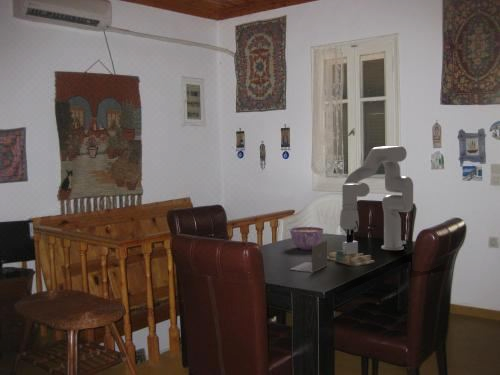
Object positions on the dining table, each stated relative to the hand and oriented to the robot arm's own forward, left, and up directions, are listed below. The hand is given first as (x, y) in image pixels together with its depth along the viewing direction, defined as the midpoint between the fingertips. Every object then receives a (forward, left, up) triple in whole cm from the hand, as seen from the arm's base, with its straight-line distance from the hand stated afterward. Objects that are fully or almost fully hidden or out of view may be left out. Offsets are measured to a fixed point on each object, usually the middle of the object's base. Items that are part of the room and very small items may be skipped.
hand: (349, 241), depth 267 cm
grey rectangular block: (0, 0, -9) cm, 9 cm away
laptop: (+27, 0, -11) cm, 29 cm away
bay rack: (0, 0, -10) cm, 10 cm away
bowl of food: (-3, -40, -10) cm, 41 cm away
